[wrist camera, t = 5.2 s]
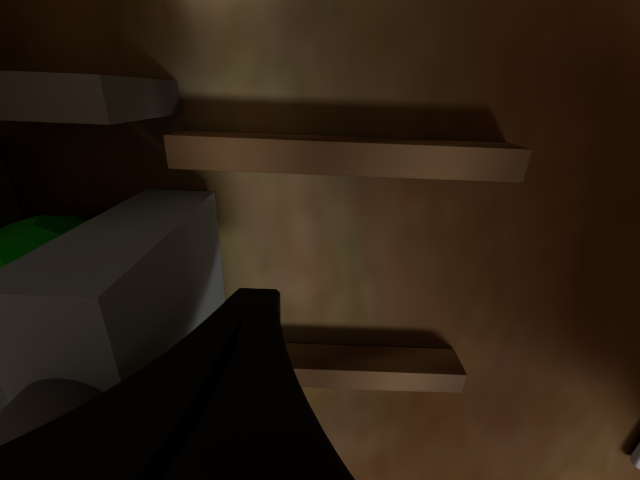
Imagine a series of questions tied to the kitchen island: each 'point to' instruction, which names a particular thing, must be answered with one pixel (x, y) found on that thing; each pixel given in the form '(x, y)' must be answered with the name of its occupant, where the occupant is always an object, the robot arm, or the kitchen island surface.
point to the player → (104, 302)
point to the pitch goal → (271, 157)
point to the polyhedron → (33, 234)
